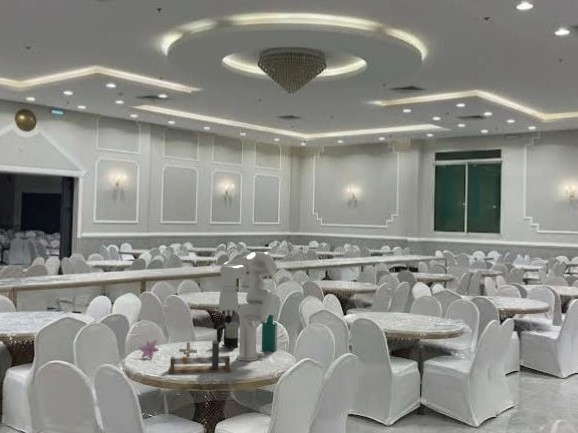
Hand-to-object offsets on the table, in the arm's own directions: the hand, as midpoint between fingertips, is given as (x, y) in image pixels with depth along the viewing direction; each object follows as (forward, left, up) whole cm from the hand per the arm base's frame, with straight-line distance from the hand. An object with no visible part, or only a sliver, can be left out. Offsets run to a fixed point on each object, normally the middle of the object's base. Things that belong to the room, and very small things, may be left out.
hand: (228, 323), depth 329 cm
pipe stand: (+14, 0, -25) cm, 29 cm away
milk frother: (-6, -52, -25) cm, 58 cm away
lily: (+42, -32, -25) cm, 59 cm away
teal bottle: (-29, -44, -25) cm, 58 cm away
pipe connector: (+20, -24, -25) cm, 40 cm away
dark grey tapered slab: (+6, 0, -24) cm, 25 cm away
